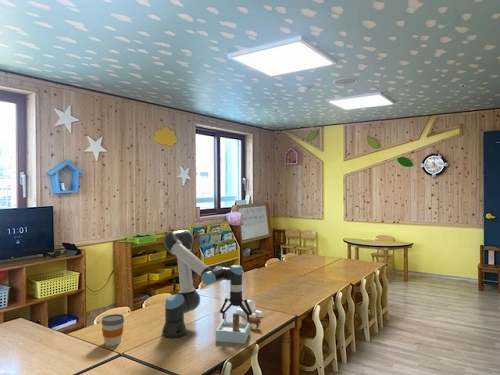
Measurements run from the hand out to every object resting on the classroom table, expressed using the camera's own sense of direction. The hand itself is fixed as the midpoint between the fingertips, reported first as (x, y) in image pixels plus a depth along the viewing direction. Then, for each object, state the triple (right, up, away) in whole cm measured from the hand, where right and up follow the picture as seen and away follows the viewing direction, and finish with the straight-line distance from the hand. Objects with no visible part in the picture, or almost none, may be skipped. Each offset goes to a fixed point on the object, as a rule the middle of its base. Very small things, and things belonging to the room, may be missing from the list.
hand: (235, 325), depth 226 cm
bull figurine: (+10, -8, +17) cm, 22 cm away
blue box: (-2, -8, +1) cm, 8 cm away
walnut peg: (0, -8, 0) cm, 8 cm away
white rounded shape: (+8, -9, +42) cm, 44 cm away
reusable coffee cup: (-73, -8, -8) cm, 74 cm away
